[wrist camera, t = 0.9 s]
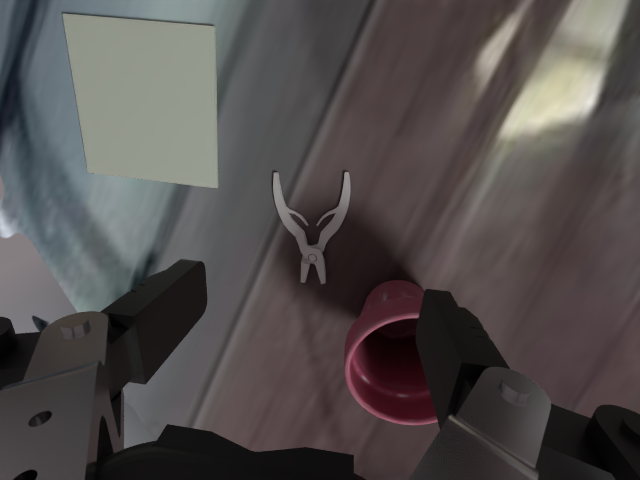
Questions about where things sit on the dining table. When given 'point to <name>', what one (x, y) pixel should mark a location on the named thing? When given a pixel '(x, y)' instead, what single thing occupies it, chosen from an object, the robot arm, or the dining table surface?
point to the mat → (146, 98)
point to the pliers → (315, 251)
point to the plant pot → (389, 356)
